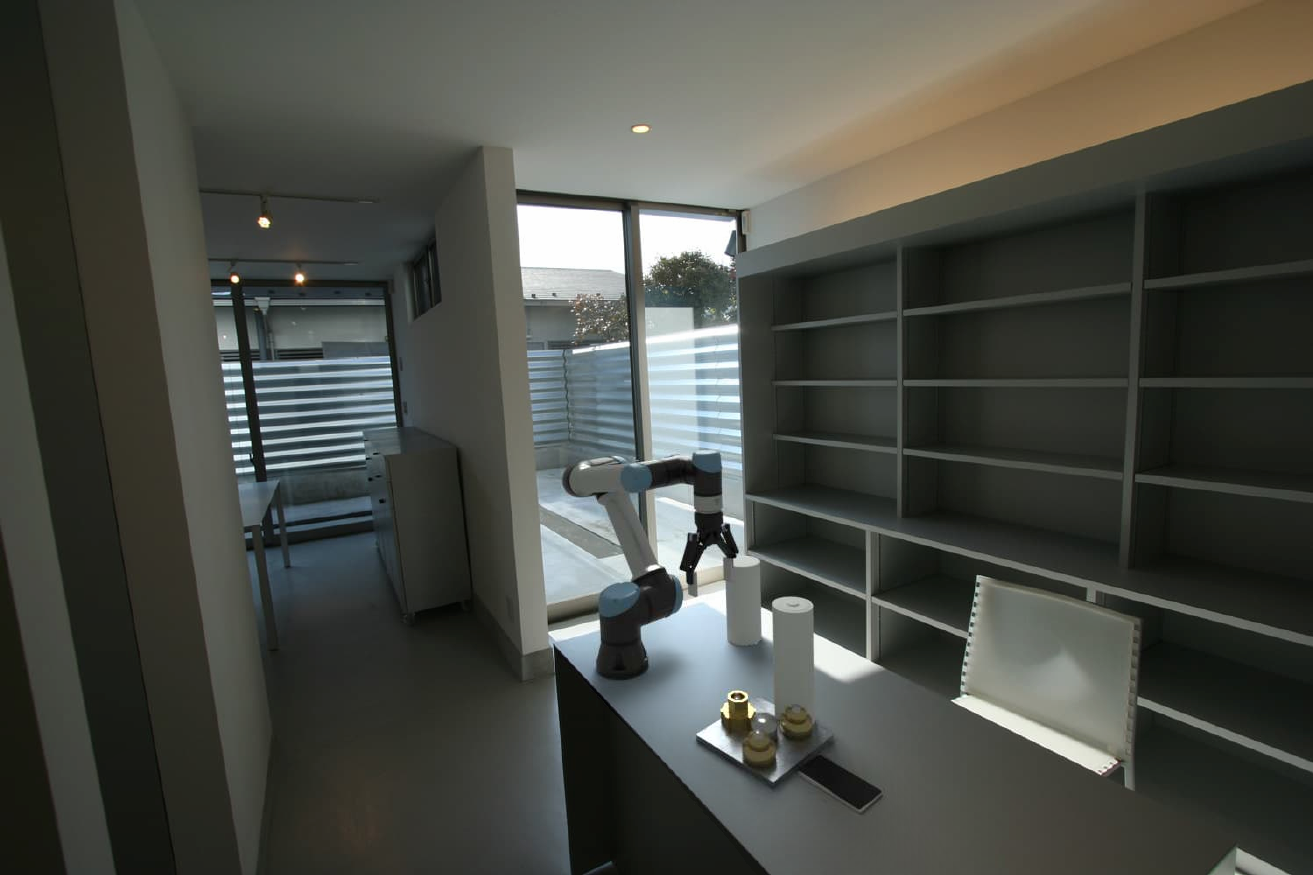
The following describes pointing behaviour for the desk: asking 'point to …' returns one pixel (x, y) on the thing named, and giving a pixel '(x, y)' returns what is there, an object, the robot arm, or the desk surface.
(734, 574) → the tall pillar cylinder
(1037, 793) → the desk surface
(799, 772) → the smartphone
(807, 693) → the cylinder container
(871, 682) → the desk surface
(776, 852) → the desk surface
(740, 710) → the gear
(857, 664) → the desk surface
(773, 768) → the plate
